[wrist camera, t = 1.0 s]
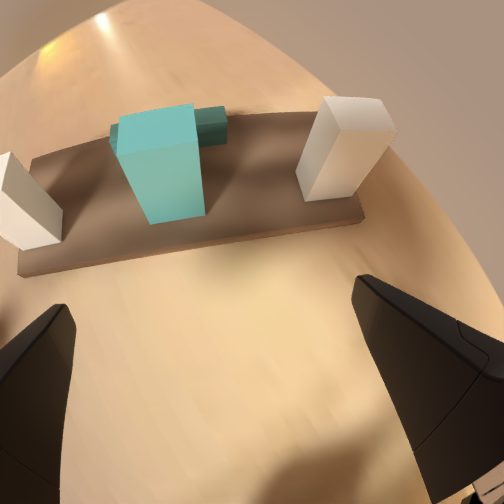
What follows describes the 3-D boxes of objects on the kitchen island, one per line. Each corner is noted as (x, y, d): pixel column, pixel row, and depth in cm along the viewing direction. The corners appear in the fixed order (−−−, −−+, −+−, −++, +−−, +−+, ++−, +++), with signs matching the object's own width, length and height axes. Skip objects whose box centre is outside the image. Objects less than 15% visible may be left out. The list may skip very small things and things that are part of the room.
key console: (359, 223, 26) (380, 201, 22) (24, 278, 22) (-2, 264, 18) (318, 119, 30) (329, 91, 26) (36, 165, 25) (19, 142, 21)
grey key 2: (61, 242, 21) (1, 189, 13) (22, 250, 21) (-40, 206, 12) (62, 210, 22) (10, 151, 14) (25, 220, 22) (-31, 169, 13)
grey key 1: (351, 196, 25) (398, 131, 17) (304, 201, 24) (340, 130, 16) (340, 167, 26) (380, 99, 18) (295, 171, 25) (323, 95, 17)
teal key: (205, 215, 23) (197, 141, 15) (150, 224, 23) (116, 155, 14) (200, 183, 24) (193, 103, 16) (148, 191, 24) (119, 117, 15)
